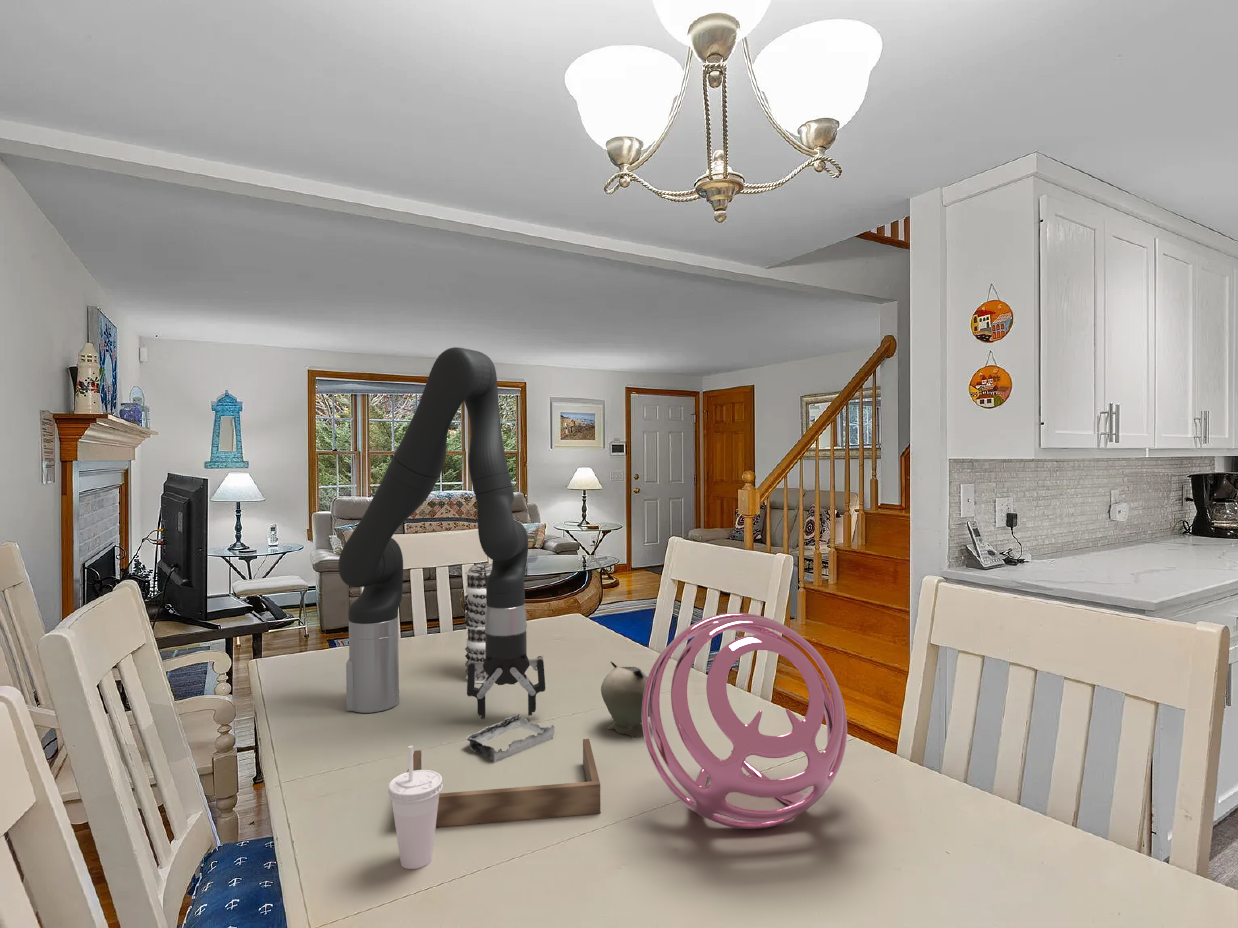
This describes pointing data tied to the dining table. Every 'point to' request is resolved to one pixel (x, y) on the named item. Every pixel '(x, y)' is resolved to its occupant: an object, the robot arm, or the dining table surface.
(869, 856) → the dining table surface
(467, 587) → the decorative candle
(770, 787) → the pink openwork sphere
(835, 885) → the dining table surface
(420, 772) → the smoothie
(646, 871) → the dining table surface
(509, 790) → the box
